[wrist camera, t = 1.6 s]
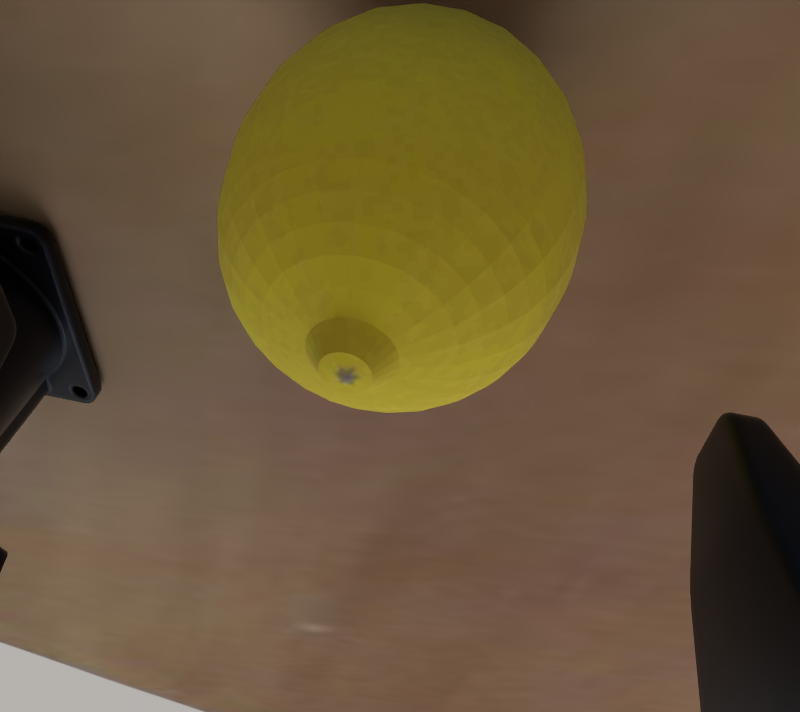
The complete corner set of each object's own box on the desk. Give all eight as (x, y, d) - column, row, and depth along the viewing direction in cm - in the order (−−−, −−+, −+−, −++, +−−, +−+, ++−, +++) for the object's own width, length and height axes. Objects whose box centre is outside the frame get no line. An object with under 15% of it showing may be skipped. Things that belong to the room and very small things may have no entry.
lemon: (490, 259, 17) (432, 561, 11) (274, 136, 16) (87, 399, 10) (655, 52, 13) (694, 346, 7) (385, -126, 12) (188, 53, 6)
